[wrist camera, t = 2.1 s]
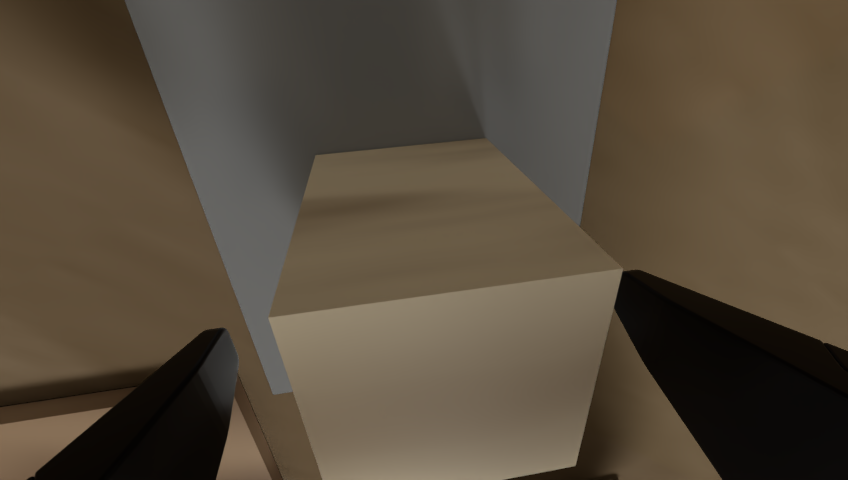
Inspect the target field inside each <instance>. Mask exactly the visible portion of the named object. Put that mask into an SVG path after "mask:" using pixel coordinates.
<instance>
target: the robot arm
mask: <svg viewBox="0 0 848 480" xmlns="http://www.w3.org/2000/svg"><path fill="white" fill-rule="evenodd" d="M614 309H615V311H616V313H617V315H618V316H619V318H620V320H621V322H622V324H623V326H624V328H625V329H626V331H627V333H628V335H629V337H630V339H631V341H632V342H633V344H634V346H635V348H636V350H637V352H638V354H639V355H640V357H641V359H642V361H643V362H644V364H645V366H646V367H647V369H648V370H649V372H650V373H651V375H652V376H653V378H654V379H655V381H656V382H657V384H658V385H659V387H660V388H661V390H662V391H663V393H664V394H665V396H666V397H667V398H668V400H669V401H670V403H671V404H672V406H673V407H674V409H675V410H676V412H677V413H678V415H679V416H680V418H681V419H682V421H683V422H684V424H685V425H686V427H687V428H688V429H689V431H690V432H691V434H692V435H693V437H694V438H695V440H696V441H697V443H698V444H699V446H700V447H701V449H702V450H703V452H704V453H705V455H706V456H707V458H708V459H709V461H710V462H711V463H712V465H713V466H714V468H715V469H716V471H717V472H718V474H719V475H720V477H721V478H722V480H848V351H846V350H844V349H841V348H838V347H836V346H833V345H831V344H828V343H823V342H822V341H820V340H818V339H815V338H813V337H810V336H808V335H805V334H802V333H800V332H797V331H795V330H792V329H790V328H787V327H784V326H782V325H779V324H777V323H774V322H772V321H769V320H766V319H764V318H761V317H759V316H756V315H754V314H751V313H749V312H746V311H743V310H741V309H738V308H736V307H733V306H731V305H728V304H725V303H723V302H720V301H718V300H715V299H713V298H710V297H708V296H705V295H702V294H700V293H697V292H695V291H692V290H690V289H687V288H684V287H682V286H679V285H677V284H674V283H672V282H669V281H667V280H664V279H661V278H659V277H656V276H654V275H651V274H649V273H646V272H643V271H641V270H630V271H624V272H622V276H621V280H620V284H619V288H618V292H617V296H616V300H615V305H614ZM238 366H239V359H238V354H237V352H236V349H235V347H234V344H233V342H232V339H231V337H230V335H229V332H228V331H227V330H226V329H225V328H216V329H209V330H205V331H203V332H202V333H200V334H199V335H198V336H197V337H196V338H194V339H193V340H192V341H191V342H190V343H189V344H187V345H186V346H185V347H184V348H183V349H181V350H180V351H179V352H178V353H177V354H175V355H174V356H173V357H172V358H171V359H170V360H168V361H167V362H166V363H165V364H164V365H162V366H161V367H160V368H159V369H158V370H156V371H155V372H154V373H153V374H152V375H151V376H149V377H148V378H147V379H146V380H145V381H143V382H142V383H141V384H140V385H139V386H137V387H136V388H135V389H134V390H133V391H132V392H130V393H129V394H128V395H127V396H126V397H124V398H123V399H122V400H121V401H120V402H118V403H117V404H116V405H115V406H114V407H112V408H111V409H110V410H109V411H108V412H107V413H105V414H104V415H103V416H102V417H101V418H99V419H98V420H97V421H96V422H95V423H93V424H92V425H91V426H90V427H89V428H88V429H86V430H85V431H84V432H83V433H82V434H80V435H79V436H78V437H77V438H76V439H74V440H73V441H72V442H71V443H70V444H68V445H67V446H66V447H65V448H64V449H63V450H61V451H60V452H59V453H58V454H57V455H55V456H54V457H53V458H52V459H51V460H49V461H48V462H47V463H46V464H45V465H43V466H42V467H41V468H40V469H39V470H38V471H37V472H36V473H35V476H31V477H29V478H28V479H27V480H216V478H217V474H218V470H219V467H220V463H221V459H222V456H223V452H224V448H225V444H226V440H227V436H228V431H229V426H230V420H231V413H232V407H233V400H234V393H235V386H236V380H237V373H238Z"/></svg>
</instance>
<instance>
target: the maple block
mask: <svg viewBox="0 0 848 480" xmlns="http://www.w3.org/2000/svg"><path fill="white" fill-rule="evenodd" d="M622 271H623V268H622V267H621V266H620V265H619V264H618V263H617V262H616V261H615V260H614V259H613V258H612V257H611V256H610V255H609V254H607V253H606V252H605V251H604V250H603V249H602V248H601V247H600V246H599V245H598V244H597V243H596V242H595V241H594V240H593V239H592V238H591V237H590V236H589V235H588V234H586V233H585V232H584V231H583V230H582V229H581V228H580V227H579V226H578V225H577V224H576V223H575V222H574V221H573V220H572V219H571V218H570V217H569V216H568V215H566V214H565V213H564V212H563V211H562V210H561V209H560V208H559V207H558V206H557V205H556V204H555V203H554V202H553V201H552V200H551V199H550V198H549V197H548V196H546V195H545V194H544V193H543V192H542V191H541V190H540V189H539V188H538V187H537V186H536V185H535V184H534V183H533V182H532V181H531V180H530V179H529V178H528V177H527V176H525V175H524V174H523V173H522V172H521V171H520V170H519V169H518V168H517V167H516V166H515V165H514V164H513V163H512V162H511V161H510V160H509V159H508V158H507V157H505V156H504V155H503V154H502V153H501V152H500V151H499V150H498V149H497V148H496V147H495V146H494V145H493V144H492V143H491V142H490V141H489V140H488V139H487V138H482V139H472V140H462V141H452V142H442V143H432V144H422V145H412V146H402V147H392V148H382V149H372V150H362V151H352V152H342V153H331V154H321V155H315V159H314V162H313V166H312V169H311V172H310V176H309V179H308V183H307V186H306V190H305V193H304V196H303V200H302V203H301V207H300V210H299V214H298V217H297V220H296V224H295V227H294V231H293V234H292V238H291V241H290V244H289V248H288V251H287V255H286V258H285V262H284V265H283V268H282V272H281V275H280V279H279V282H278V286H277V289H276V292H275V296H274V299H273V303H272V306H271V310H270V313H269V316H268V319H269V322H270V325H271V328H272V331H273V334H274V337H275V340H276V343H277V346H278V349H279V352H280V354H281V357H282V360H283V363H284V366H285V369H286V372H287V375H288V378H289V381H290V384H291V387H292V390H293V393H294V396H295V399H296V402H297V405H298V408H299V411H300V414H301V417H302V420H303V423H304V426H305V429H306V432H307V435H308V438H309V441H310V444H311V447H312V450H313V453H314V456H315V458H316V461H317V464H318V467H319V470H320V473H321V476H322V479H323V480H505V479H510V478H515V477H521V476H526V475H531V474H537V473H542V472H547V471H552V470H558V469H563V468H568V467H573V466H576V462H577V458H578V454H579V449H580V445H581V441H582V437H583V433H584V429H585V425H586V420H587V416H588V412H589V408H590V404H591V400H592V396H593V391H594V387H595V383H596V379H597V375H598V371H599V367H600V363H601V358H602V354H603V350H604V346H605V342H606V338H607V334H608V329H609V325H610V321H611V317H612V313H613V309H614V305H615V300H616V296H617V292H618V288H619V284H620V280H621V276H622Z"/></svg>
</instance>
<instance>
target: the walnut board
mask: <svg viewBox="0 0 848 480" xmlns="http://www.w3.org/2000/svg"><path fill="white" fill-rule="evenodd" d="M135 388H136V387H131V388H124V389H118V390H111V391H104V392H98V393H91V394H85V395H78V396H71V397H65V398H58V399H51V400H45V401H38V402H32V403H25V404H18V405H12V406H5V407H0V480H27V479H28V478H29V477H31V476H35V473H36V472H37V471H38V470H39V469H40V468H41V467H42V466H43V465H45V464H46V463H47V462H48V461H49V460H51V459H52V458H53V457H54V456H55V455H57V454H58V453H59V452H60V451H61V450H63V449H64V448H65V447H66V446H67V445H68V444H70V443H71V442H72V441H73V440H74V439H76V438H77V437H78V436H79V435H80V434H82V433H83V432H84V431H85V430H86V429H88V428H89V427H90V426H91V425H92V424H93V423H95V422H96V421H97V420H98V419H99V418H101V417H102V416H103V415H104V414H105V413H107V412H108V411H109V410H110V409H111V408H112V407H114V406H115V405H116V404H117V403H118V402H120V401H121V400H122V399H123V398H124V397H126V396H127V395H128V394H129V393H130V392H132V391H133V390H134V389H135ZM216 480H283V479H282V477H281V474H280V472H279V470H278V467H277V465H276V463H275V460H274V458H273V456H272V453H271V451H270V449H269V446H268V444H267V442H266V439H265V437H264V435H263V432H262V430H261V428H260V425H259V423H258V421H257V418H256V416H255V414H254V411H253V409H252V407H251V404H250V402H249V400H248V397H247V395H246V393H245V390H244V388H243V386H242V383H241V381H240V379H239V376H238V374H237V380H236V386H235V393H234V400H233V407H232V413H231V420H230V426H229V431H228V436H227V440H226V444H225V448H224V452H223V456H222V459H221V463H220V467H219V470H218V474H217V478H216Z"/></svg>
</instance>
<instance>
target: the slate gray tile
mask: <svg viewBox="0 0 848 480" xmlns="http://www.w3.org/2000/svg"><path fill="white" fill-rule="evenodd" d="M125 3H126V5H127V8H128V11H129V13H130V16H131V19H132V21H133V24H134V27H135V29H136V32H137V35H138V37H139V40H140V43H141V45H142V48H143V50H144V53H145V56H146V58H147V61H148V64H149V66H150V69H151V72H152V74H153V77H154V80H155V82H156V85H157V88H158V90H159V93H160V96H161V98H162V101H163V104H164V106H165V109H166V112H167V114H168V117H169V119H170V122H171V125H172V127H173V130H174V133H175V135H176V138H177V141H178V143H179V146H180V149H181V151H182V154H183V157H184V159H185V162H186V165H187V167H188V170H189V173H190V175H191V178H192V181H193V183H194V186H195V188H196V191H197V194H198V196H199V199H200V202H201V204H202V207H203V210H204V212H205V215H206V218H207V220H208V223H209V226H210V228H211V231H212V234H213V236H214V239H215V242H216V244H217V247H218V250H219V252H220V255H221V257H222V260H223V263H224V265H225V268H226V271H227V273H228V276H229V279H230V281H231V284H232V287H233V289H234V292H235V295H236V297H237V300H238V303H239V305H240V308H241V311H242V313H243V316H244V319H245V321H246V324H247V326H248V329H249V332H250V334H251V337H252V340H253V342H254V345H255V348H256V350H257V353H258V356H259V358H260V361H261V364H262V366H263V369H264V372H265V374H266V377H267V380H268V382H269V385H270V387H271V390H272V393H273V395H275V394H281V393H287V392H293V390H292V387H291V384H290V381H289V378H288V375H287V372H286V369H285V366H284V363H283V360H282V357H281V354H280V352H279V349H278V346H277V343H276V340H275V337H274V334H273V331H272V328H271V325H270V322H269V319H268V316H269V313H270V310H271V306H272V303H273V299H274V296H275V292H276V289H277V286H278V282H279V279H280V275H281V272H282V268H283V265H284V262H285V258H286V255H287V251H288V248H289V244H290V241H291V238H292V234H293V231H294V227H295V224H296V220H297V217H298V214H299V210H300V207H301V203H302V200H303V196H304V193H305V190H306V186H307V183H308V179H309V176H310V172H311V169H312V166H313V162H314V159H315V155H321V154H331V153H342V152H352V151H362V150H372V149H382V148H392V147H402V146H412V145H422V144H432V143H442V142H452V141H462V140H472V139H482V138H487V139H488V140H489V141H490V142H491V143H492V144H493V145H494V146H495V147H496V148H497V149H498V150H499V151H500V152H501V153H502V154H503V155H504V156H505V157H507V158H508V159H509V160H510V161H511V162H512V163H513V164H514V165H515V166H516V167H517V168H518V169H519V170H520V171H521V172H522V173H523V174H524V175H525V176H527V177H528V178H529V179H530V180H531V181H532V182H533V183H534V184H535V185H536V186H537V187H538V188H539V189H540V190H541V191H542V192H543V193H544V194H545V195H546V196H548V197H549V198H550V199H551V200H552V201H553V202H554V203H555V204H556V205H557V206H558V207H559V208H560V209H561V210H562V211H563V212H564V213H565V214H566V215H568V216H569V217H570V218H571V219H572V220H573V221H574V222H575V223H576V224H577V225H578V226H579V227H580V223H581V217H582V211H583V204H584V198H585V192H586V186H587V180H588V174H589V168H590V162H591V155H592V149H593V143H594V137H595V131H596V125H597V119H598V113H599V107H600V100H601V94H602V88H603V82H604V76H605V70H606V64H607V58H608V51H609V45H610V39H611V33H612V27H613V21H614V15H615V9H616V3H617V0H125Z"/></svg>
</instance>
